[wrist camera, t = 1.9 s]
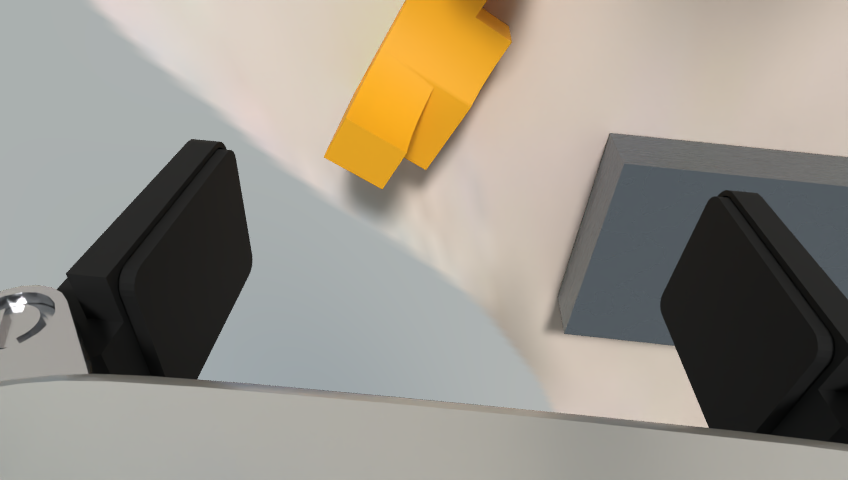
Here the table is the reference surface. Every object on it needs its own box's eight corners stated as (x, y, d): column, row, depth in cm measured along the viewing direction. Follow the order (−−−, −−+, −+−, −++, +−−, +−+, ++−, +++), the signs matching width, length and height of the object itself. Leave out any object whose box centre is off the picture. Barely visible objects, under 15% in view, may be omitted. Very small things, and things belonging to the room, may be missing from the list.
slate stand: (945, 167, 25) (994, 201, 22) (820, 325, 32) (848, 364, 29) (610, 133, 25) (624, 163, 23) (557, 296, 32) (564, 333, 29)
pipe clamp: (430, 138, 26) (420, 209, 21) (354, 92, 25) (323, 157, 20) (598, -105, 20) (641, -85, 14) (504, -182, 18) (516, -190, 13)
